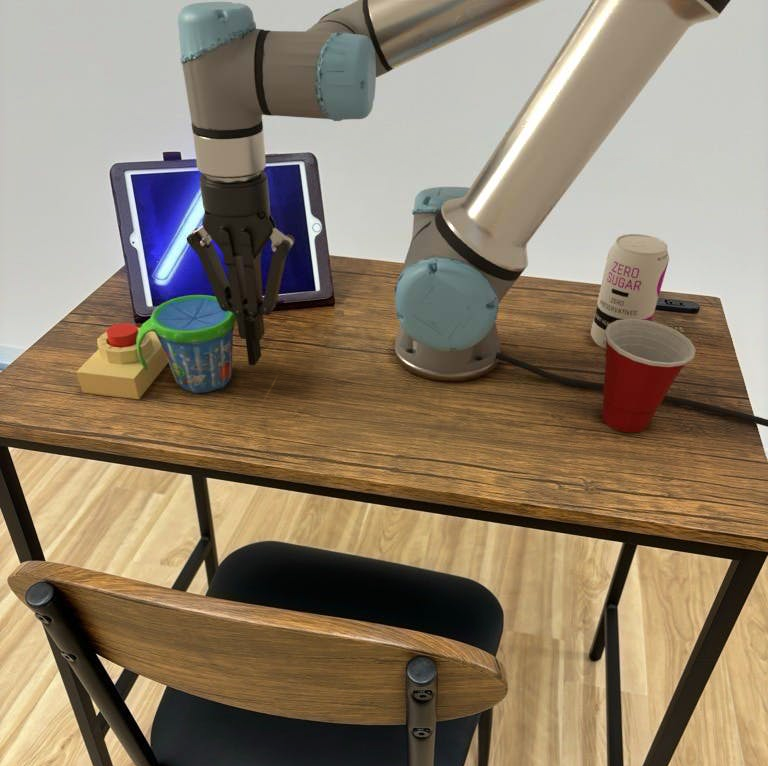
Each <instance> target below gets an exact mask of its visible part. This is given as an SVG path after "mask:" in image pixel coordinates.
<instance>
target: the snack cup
mask: <svg viewBox="0 0 768 766" xmlns="http://www.w3.org/2000/svg"><path fill="white" fill-rule="evenodd" d="M236 322H237V317H236V315H235V314H234V313H232V312H230V311H227V312H225V311H223V310H221V308H220V306H219V303H218V301H217V299H216V296H215V295H206V294H190V295H184V296H178V297H174V298H172V299H169V300H167V301H165V302H163V303H161V304H159V305H158V306H157V307H156V308H154V310H153V311H152V313H151V316H150V318H149V319H147V320H146V321H145V322H143V323H142V324H141V326H140V327H139V328H140V330H139V332H138V335H137V339H136V346H137V352H138V355H139V358H140V361H141V364H142V366H143V368H144V369H145V370H147V364H146V362H145V360H144V359H143V356H142V352H141V347H140V345H141V341H142V340H143V338H144V337H145V335H146V334H147V333H148V332H151V331H152V332H155V333H156V335H157V337H158V339H159V341H160V343H161V345H162V347H163V349H164V351H165V353H166V356H167V359H168V364H169V367H170V369H171V372H172V375H173V378H174V381H175V382H176V384H177V385H178V386H179V387H180V388H182V389H183V390H185V391H188V392H192V393H194V394H200V393H203V394H205V393H210V392H213V391H217V390H220V389H224V388H225V387H226V385H227V384H228V383H229V382H230V380H231V378H232V375H233V350H234V348H233V347H234V341H233V339H234V338H233V337H234V330H235V323H236Z"/></svg>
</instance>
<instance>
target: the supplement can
mask: <svg viewBox="0 0 768 766" xmlns="http://www.w3.org/2000/svg"><path fill="white" fill-rule="evenodd" d="M669 255H670V254H669V251H668V244H667V242H665V241H664V240H662V239H660V238H658V237H655V236H652V235H647V234H640V233H629V234H623V235H620V236H618V237H616V239H615V242H614V243H613V244H612V246H611V247H610V248H609V249H608V253H607V258H606V263H605V266H604V271H603V275H602V280H601V285H600V288H599V293H598V297H597V302H596V307H595V311H594V316H593V320H592V323H591V328H590V337H591V338H592V339H593V341H594V342H595V344H596V345H598V346H599V347H601V348H603V349H605V350H606V344H607V343H606V337H605V331H606V328H607V326H608V325H609V324H611V323H613V322H615V321H616V320H623V319H639V320H648V321H652V322H653V318H654V314H655V311H656V307H657V303H658V300H659V297H660V293H661V291H662V286H663V283H664V279H665V275H666V272H667V269H668V265H669V262H670V256H669Z"/></svg>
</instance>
